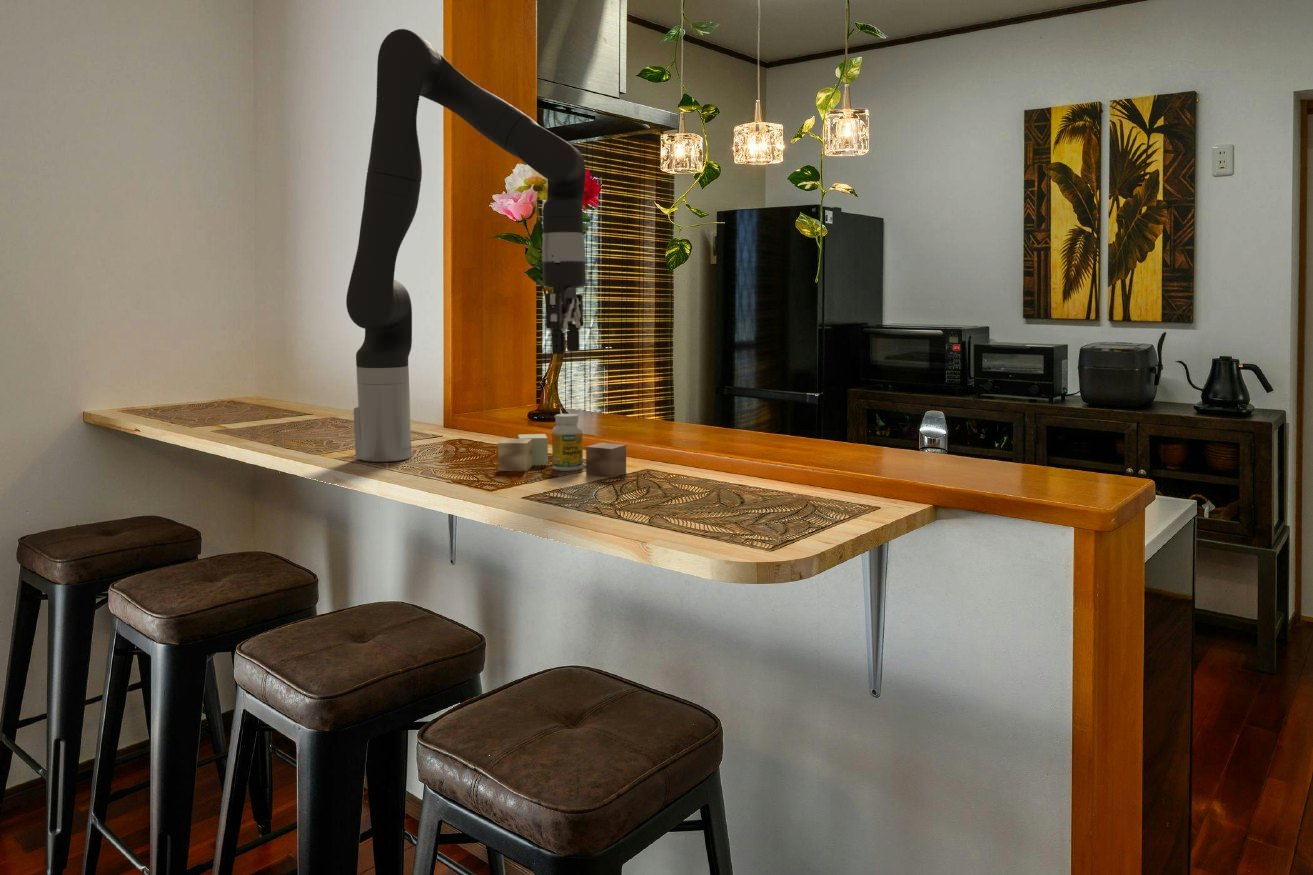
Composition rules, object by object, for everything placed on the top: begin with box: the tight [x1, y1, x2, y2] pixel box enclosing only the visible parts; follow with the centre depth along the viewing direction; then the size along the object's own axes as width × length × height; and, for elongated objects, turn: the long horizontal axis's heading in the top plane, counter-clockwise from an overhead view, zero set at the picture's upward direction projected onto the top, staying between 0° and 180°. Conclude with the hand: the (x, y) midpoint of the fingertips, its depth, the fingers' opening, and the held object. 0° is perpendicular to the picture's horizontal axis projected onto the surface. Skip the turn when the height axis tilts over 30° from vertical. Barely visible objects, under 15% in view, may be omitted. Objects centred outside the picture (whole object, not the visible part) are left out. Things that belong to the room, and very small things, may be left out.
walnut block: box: [585, 442, 627, 479], centre depth 155 cm, size 5×5×5 cm
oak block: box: [497, 438, 533, 472], centre depth 160 cm, size 5×5×5 cm
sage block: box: [517, 433, 549, 466], centre depth 165 cm, size 5×5×5 cm
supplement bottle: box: [551, 413, 584, 472], centre depth 159 cm, size 5×5×10 cm
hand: (566, 352), depth 161 cm, fingers open, 8 cm apart
